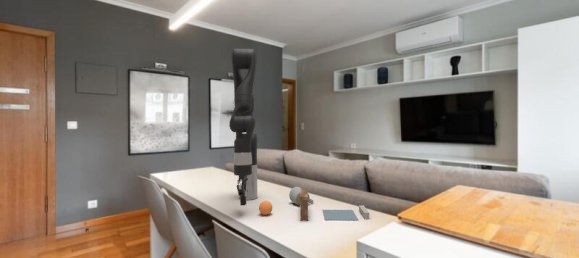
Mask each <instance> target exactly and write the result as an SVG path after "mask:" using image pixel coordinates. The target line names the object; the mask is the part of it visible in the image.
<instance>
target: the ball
mask: <svg viewBox="0 0 579 258" xmlns="http://www.w3.org/2000/svg"><path fill="white" fill-rule="evenodd" d="M258 205H259V206H258V210H259V212H260V213H261V214H262V215H264V216H267V215H270V214H271V213H272V212H273V204H272V203H271V202H270V201H268V200H264V201H262V202H261V203H260V204H258Z"/></svg>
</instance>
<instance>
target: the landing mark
mask: <svg viewBox="0 0 579 258" xmlns="http://www.w3.org/2000/svg"><path fill="white" fill-rule="evenodd" d="M322 214H323V218H324V221H359V218H358V217H357V215H356V213H355V211H354V209H322Z"/></svg>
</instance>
